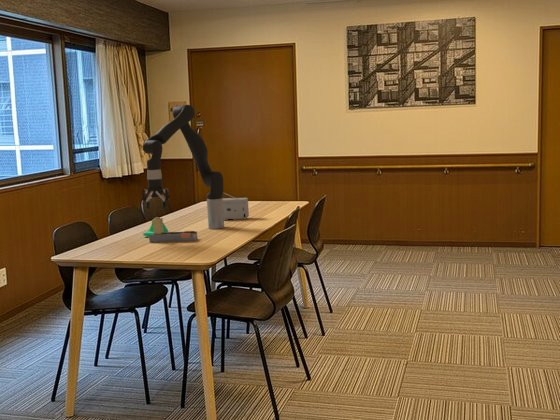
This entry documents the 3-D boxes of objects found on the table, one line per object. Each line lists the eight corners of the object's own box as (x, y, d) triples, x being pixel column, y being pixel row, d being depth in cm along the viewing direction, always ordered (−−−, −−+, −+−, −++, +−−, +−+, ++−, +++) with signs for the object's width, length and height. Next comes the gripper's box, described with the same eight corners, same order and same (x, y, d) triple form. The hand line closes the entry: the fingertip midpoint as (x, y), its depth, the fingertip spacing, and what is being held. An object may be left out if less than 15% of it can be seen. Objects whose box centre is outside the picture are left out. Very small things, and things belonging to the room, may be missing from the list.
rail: (154, 239, 365) (154, 231, 365) (197, 238, 361) (196, 230, 361) (149, 242, 357) (148, 234, 357) (193, 241, 353) (192, 233, 353)
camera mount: (142, 237, 374) (141, 219, 373) (150, 235, 381) (148, 217, 380) (161, 238, 370) (160, 219, 369) (168, 235, 377) (167, 217, 376)
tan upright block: (156, 236, 363) (155, 217, 361) (163, 236, 362) (162, 216, 361) (154, 237, 359) (152, 218, 357) (161, 237, 358) (159, 218, 357)
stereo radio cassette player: (249, 217, 428) (247, 186, 426) (247, 219, 420) (245, 187, 417) (216, 218, 430) (214, 187, 428) (214, 220, 422) (212, 189, 420)
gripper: (169, 177, 359) (171, 207, 361) (144, 177, 361) (146, 207, 363) (165, 178, 351) (167, 209, 353) (139, 179, 353) (141, 209, 356)
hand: (156, 208), depth 358 cm, fingers open, 8 cm apart
